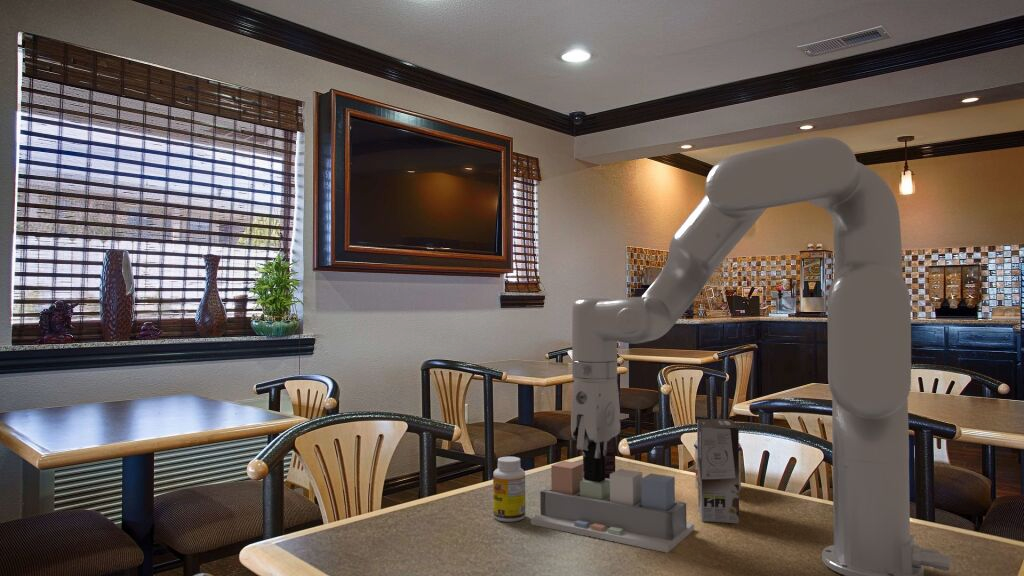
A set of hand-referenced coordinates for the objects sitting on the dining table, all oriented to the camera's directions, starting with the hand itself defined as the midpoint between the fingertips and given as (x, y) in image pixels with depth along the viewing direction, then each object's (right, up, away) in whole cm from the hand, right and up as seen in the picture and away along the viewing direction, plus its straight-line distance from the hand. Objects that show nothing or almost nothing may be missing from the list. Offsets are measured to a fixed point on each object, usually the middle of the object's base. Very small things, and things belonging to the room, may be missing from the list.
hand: (594, 479), depth 115 cm
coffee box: (+22, -8, +4) cm, 24 cm away
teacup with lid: (+27, -8, +19) cm, 34 cm away
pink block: (-4, -3, +3) cm, 6 cm away
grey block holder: (+3, -7, -2) cm, 8 cm away
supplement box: (+4, -8, +24) cm, 25 cm away
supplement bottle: (-14, -8, +3) cm, 17 cm away
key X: (+5, -3, -3) cm, 7 cm away
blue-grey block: (+9, -3, -6) cm, 12 cm away
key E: (0, -5, 0) cm, 5 cm away
